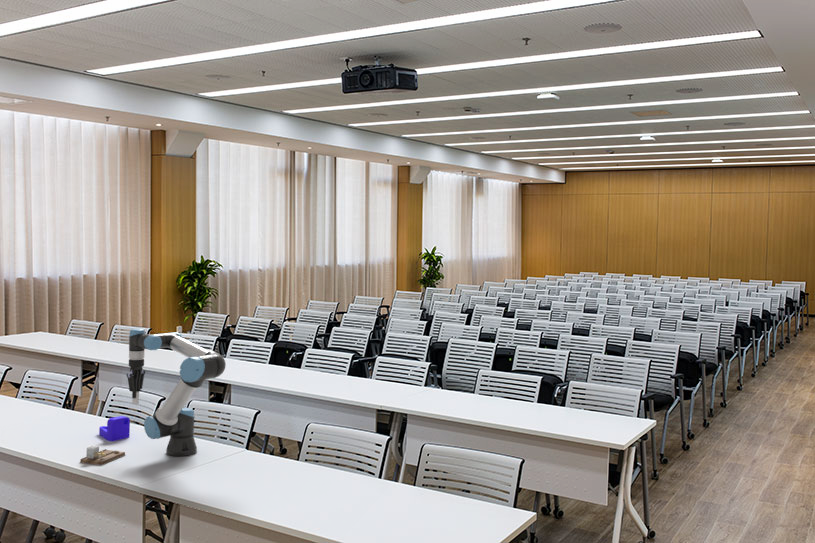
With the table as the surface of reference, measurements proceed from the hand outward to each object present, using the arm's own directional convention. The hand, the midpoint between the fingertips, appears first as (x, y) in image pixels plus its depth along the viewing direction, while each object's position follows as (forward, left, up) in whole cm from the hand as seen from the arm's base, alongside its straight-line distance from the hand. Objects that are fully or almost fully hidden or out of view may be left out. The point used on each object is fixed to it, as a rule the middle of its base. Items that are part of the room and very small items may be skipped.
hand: (135, 403), depth 373 cm
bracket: (+28, -18, -25) cm, 42 cm away
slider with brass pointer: (+4, +23, -23) cm, 33 cm away
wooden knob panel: (+5, +18, -24) cm, 31 cm away
